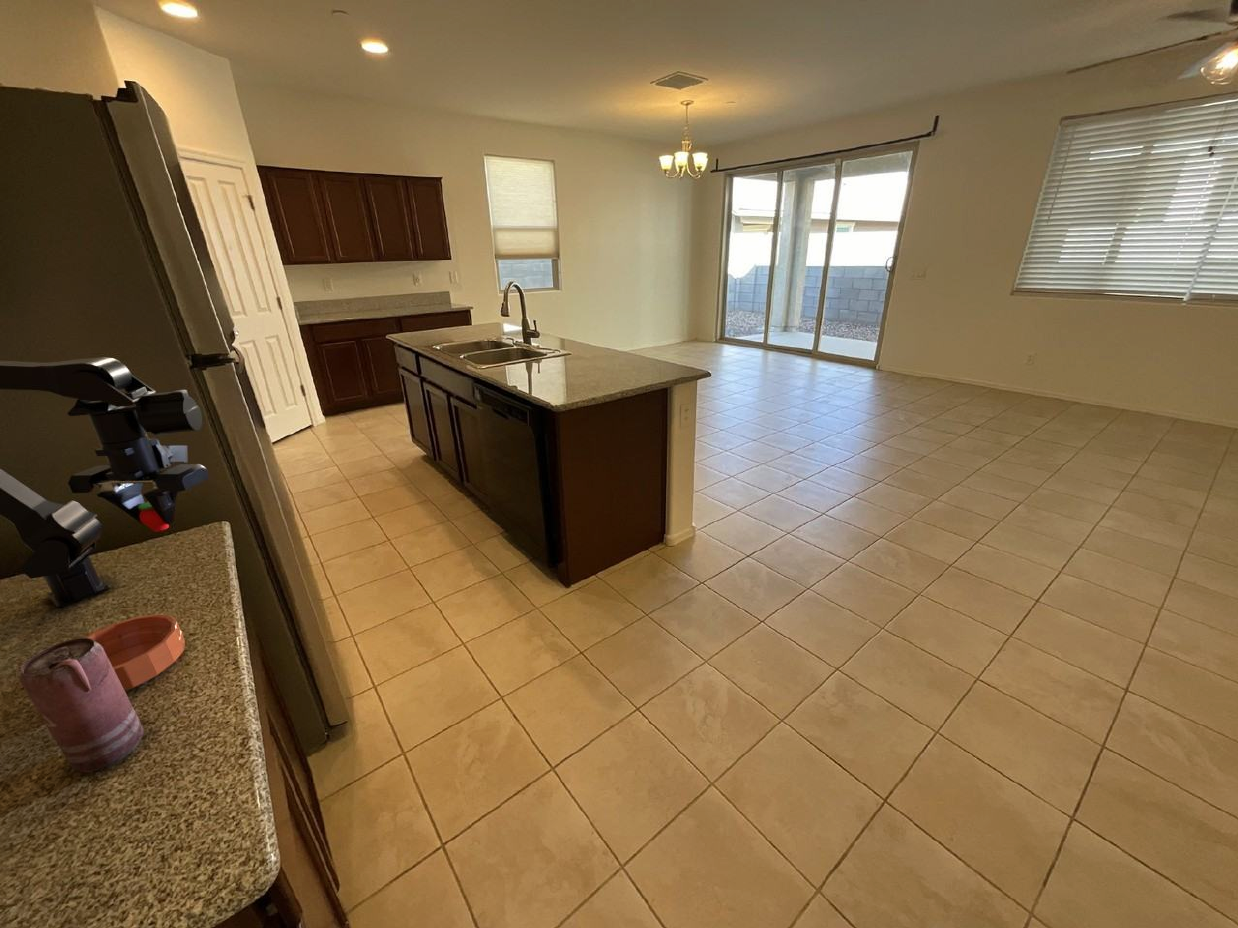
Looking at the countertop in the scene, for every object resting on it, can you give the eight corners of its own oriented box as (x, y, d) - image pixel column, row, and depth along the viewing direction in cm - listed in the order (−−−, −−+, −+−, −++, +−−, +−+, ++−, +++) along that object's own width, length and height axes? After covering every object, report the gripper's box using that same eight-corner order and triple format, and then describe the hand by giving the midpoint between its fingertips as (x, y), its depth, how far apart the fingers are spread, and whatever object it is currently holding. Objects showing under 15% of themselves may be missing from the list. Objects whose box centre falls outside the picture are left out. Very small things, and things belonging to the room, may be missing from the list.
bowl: (55, 678, 68) (41, 654, 67) (166, 626, 78) (156, 604, 76) (85, 717, 62) (70, 691, 61) (201, 656, 72) (191, 632, 70)
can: (103, 779, 55) (46, 681, 49) (58, 769, 56) (-2, 672, 51) (160, 732, 60) (115, 638, 55) (118, 723, 61) (70, 631, 56)
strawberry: (141, 530, 87) (131, 505, 85) (169, 521, 90) (160, 496, 88) (151, 536, 85) (140, 511, 83) (179, 526, 88) (170, 501, 86)
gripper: (218, 422, 88) (244, 502, 94) (114, 424, 89) (146, 503, 94) (164, 443, 78) (197, 531, 84) (46, 445, 78) (88, 532, 84)
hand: (158, 523), depth 87 cm, fingers closed on strawberry, 4 cm apart
